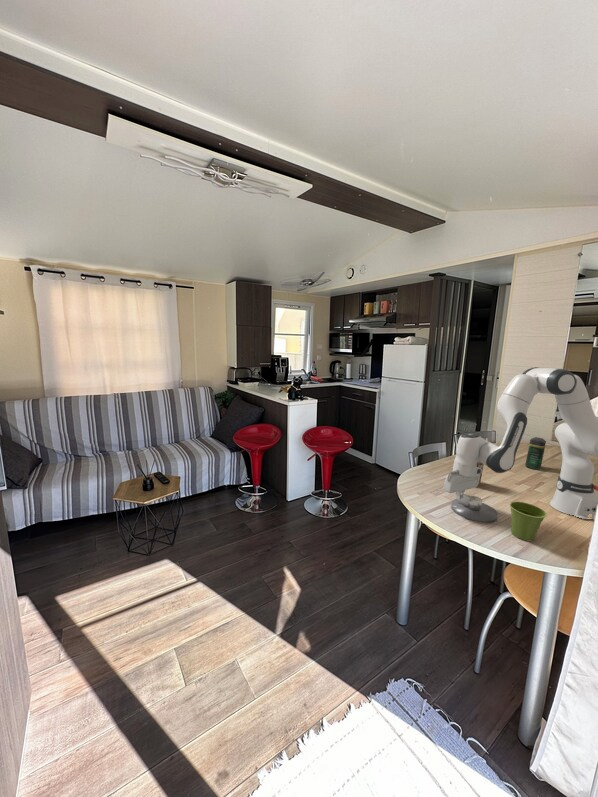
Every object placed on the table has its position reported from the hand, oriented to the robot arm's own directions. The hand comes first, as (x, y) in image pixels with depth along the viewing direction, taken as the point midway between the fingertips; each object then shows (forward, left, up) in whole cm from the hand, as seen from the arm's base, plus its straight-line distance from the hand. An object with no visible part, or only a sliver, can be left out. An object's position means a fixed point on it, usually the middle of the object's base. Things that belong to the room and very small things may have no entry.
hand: (458, 498), depth 147 cm
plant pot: (-18, +18, -4) cm, 26 cm away
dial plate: (-6, +3, -4) cm, 8 cm away
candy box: (-17, -29, -4) cm, 34 cm away
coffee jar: (-65, -65, -4) cm, 92 cm away
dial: (-4, +1, -2) cm, 5 cm away
